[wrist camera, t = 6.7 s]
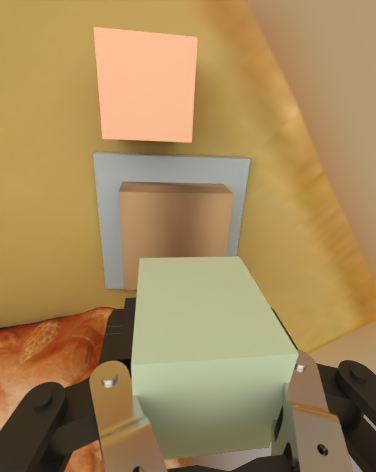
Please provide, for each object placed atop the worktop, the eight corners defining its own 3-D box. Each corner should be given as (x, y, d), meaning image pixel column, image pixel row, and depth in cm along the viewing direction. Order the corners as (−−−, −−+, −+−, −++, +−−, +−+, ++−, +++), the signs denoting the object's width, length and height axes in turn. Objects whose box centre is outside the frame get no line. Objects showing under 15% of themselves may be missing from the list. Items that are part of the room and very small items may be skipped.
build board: (107, 281, 25) (105, 289, 24) (95, 151, 20) (92, 153, 19) (228, 278, 27) (231, 284, 26) (245, 157, 22) (250, 159, 21)
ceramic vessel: (185, 375, 33) (211, 560, 19) (-34, 422, 31) (-174, 659, 18) (166, 284, 27) (183, 462, 13) (-107, 337, 25) (-407, 600, 12)
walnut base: (126, 270, 24) (124, 290, 21) (122, 181, 20) (118, 192, 18) (213, 267, 25) (221, 286, 22) (223, 183, 21) (233, 193, 19)
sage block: (139, 258, 13) (131, 365, 7) (239, 256, 13) (298, 354, 8) (141, 335, 15) (136, 463, 9) (228, 330, 16) (268, 447, 10)
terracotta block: (115, 131, 20) (102, 138, 15) (110, 52, 18) (93, 26, 13) (180, 134, 21) (191, 142, 15) (183, 58, 19) (197, 37, 13)
